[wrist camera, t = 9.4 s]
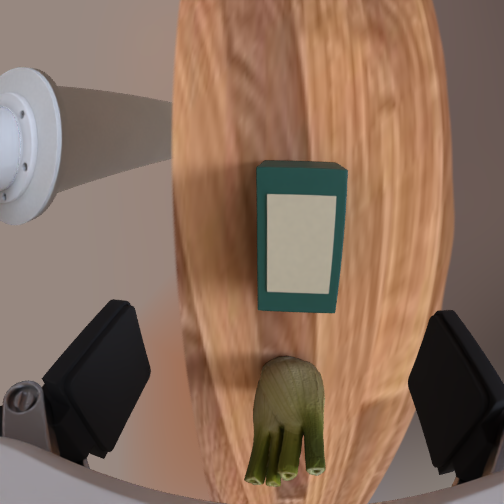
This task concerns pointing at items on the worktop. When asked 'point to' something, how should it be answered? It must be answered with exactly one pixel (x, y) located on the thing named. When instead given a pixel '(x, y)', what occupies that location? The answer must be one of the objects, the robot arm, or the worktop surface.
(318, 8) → the worktop surface
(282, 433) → the fennel bulb
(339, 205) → the tea packet
